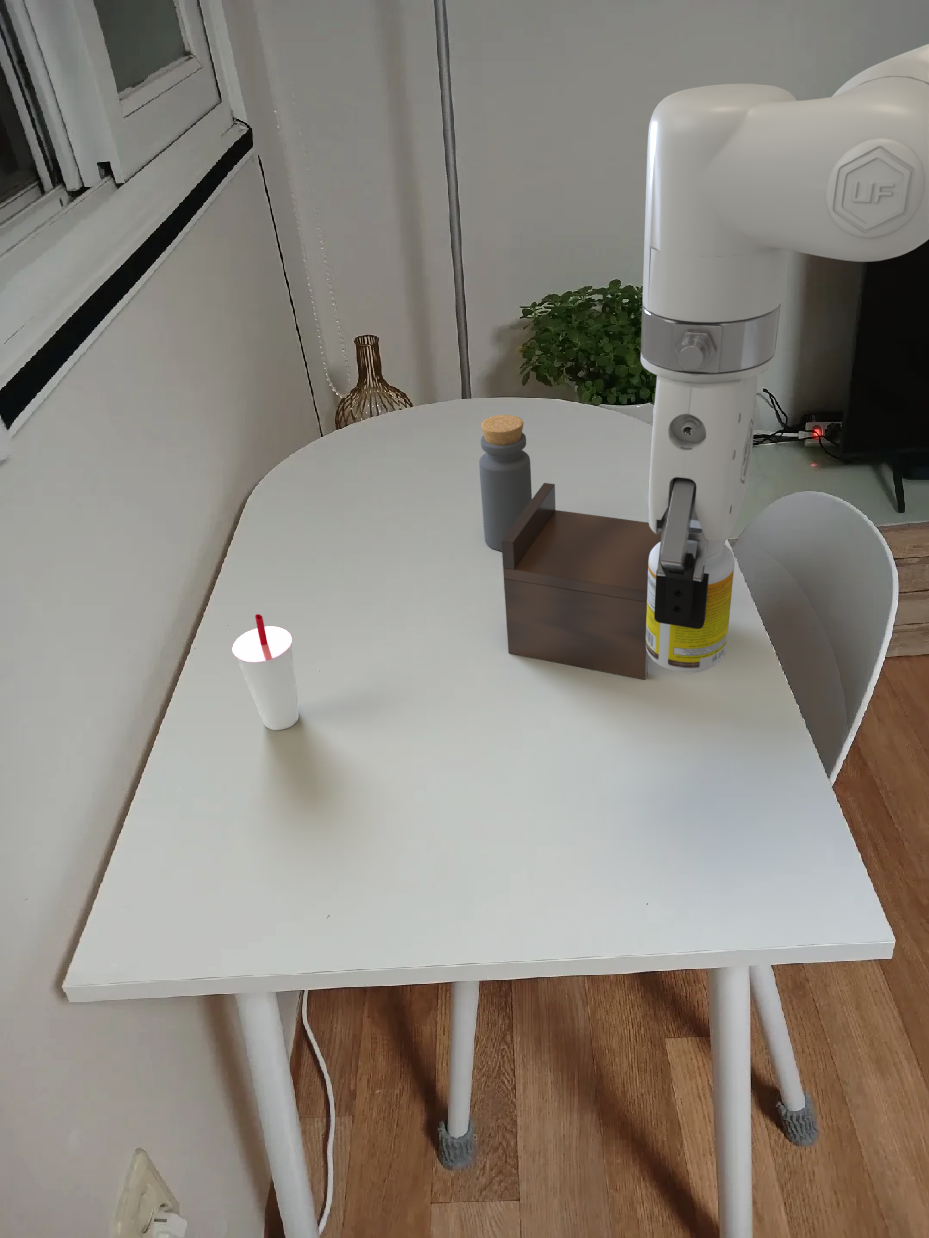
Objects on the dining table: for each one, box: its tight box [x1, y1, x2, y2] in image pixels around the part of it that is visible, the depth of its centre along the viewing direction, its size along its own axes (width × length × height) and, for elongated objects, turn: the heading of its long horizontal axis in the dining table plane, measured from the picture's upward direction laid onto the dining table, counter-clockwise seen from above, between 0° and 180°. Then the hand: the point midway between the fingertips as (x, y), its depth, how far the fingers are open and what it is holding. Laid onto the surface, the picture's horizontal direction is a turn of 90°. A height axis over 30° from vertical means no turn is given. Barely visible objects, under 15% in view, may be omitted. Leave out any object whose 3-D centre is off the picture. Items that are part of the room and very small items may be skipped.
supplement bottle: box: [646, 520, 735, 674], centre depth 64 cm, size 6×6×10 cm
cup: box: [231, 613, 300, 731], centre depth 87 cm, size 5×5×12 cm
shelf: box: [501, 482, 662, 680], centre depth 94 cm, size 14×12×13 cm
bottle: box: [478, 414, 533, 552], centre depth 110 cm, size 6×6×15 cm
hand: (689, 594), depth 65 cm, fingers closed on supplement bottle, 5 cm apart
